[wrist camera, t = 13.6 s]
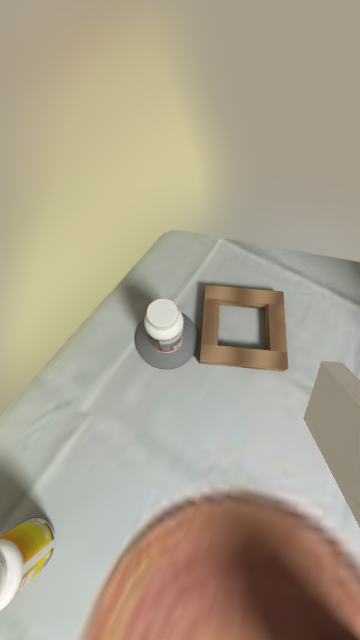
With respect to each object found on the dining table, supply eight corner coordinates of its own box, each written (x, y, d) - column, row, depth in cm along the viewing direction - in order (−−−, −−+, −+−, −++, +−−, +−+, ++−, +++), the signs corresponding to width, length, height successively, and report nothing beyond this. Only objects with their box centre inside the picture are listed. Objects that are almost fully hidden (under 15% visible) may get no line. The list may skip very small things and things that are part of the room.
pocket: (279, 297, 45) (283, 291, 44) (283, 371, 40) (288, 368, 38) (204, 290, 46) (205, 284, 44) (199, 363, 41) (200, 359, 39)
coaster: (199, 313, 44) (200, 312, 44) (195, 372, 40) (195, 371, 40) (141, 308, 44) (140, 306, 44) (131, 365, 41) (130, 365, 40)
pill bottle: (145, 329, 42) (135, 301, 34) (175, 317, 43) (174, 287, 34) (156, 359, 40) (149, 338, 32) (188, 346, 41) (190, 322, 32)
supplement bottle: (15, 517, 33) (-50, 551, 24) (59, 515, 33) (12, 548, 24) (5, 575, 31) (-72, 638, 21) (52, 573, 31) (-3, 635, 21)
